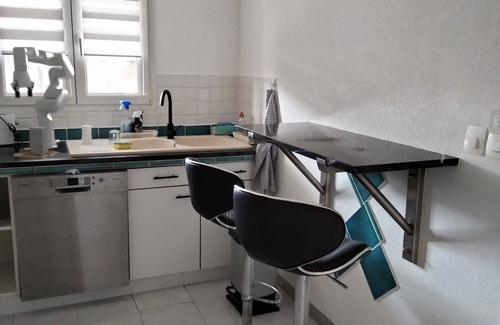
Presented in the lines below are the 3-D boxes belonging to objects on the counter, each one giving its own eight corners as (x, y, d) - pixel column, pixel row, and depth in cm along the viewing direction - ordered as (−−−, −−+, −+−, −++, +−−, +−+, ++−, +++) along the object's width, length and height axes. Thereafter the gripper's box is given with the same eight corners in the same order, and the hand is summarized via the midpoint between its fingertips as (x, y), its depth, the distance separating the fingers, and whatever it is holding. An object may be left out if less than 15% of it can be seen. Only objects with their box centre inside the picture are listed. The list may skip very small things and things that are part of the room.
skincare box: (29, 154, 279) (27, 127, 276) (36, 152, 286) (34, 126, 283) (43, 154, 279) (41, 128, 275) (49, 152, 285) (47, 126, 282)
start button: (27, 150, 288) (26, 147, 288) (31, 151, 287) (31, 148, 287) (22, 151, 285) (22, 148, 284) (27, 152, 284) (27, 149, 283)
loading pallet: (32, 152, 294) (32, 146, 293) (59, 154, 288) (58, 148, 287) (13, 156, 280) (13, 150, 280) (40, 158, 274) (40, 153, 273)
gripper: (27, 68, 289) (30, 96, 293) (4, 68, 273) (7, 98, 277) (37, 68, 287) (39, 96, 290) (14, 68, 271) (17, 98, 274)
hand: (24, 97), depth 284 cm, fingers open, 9 cm apart
